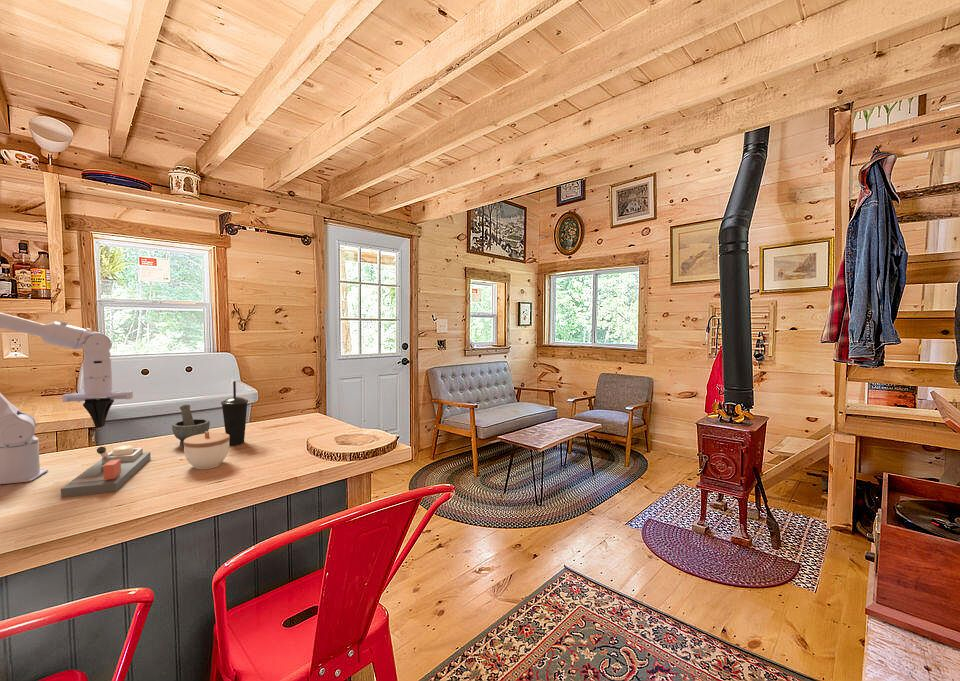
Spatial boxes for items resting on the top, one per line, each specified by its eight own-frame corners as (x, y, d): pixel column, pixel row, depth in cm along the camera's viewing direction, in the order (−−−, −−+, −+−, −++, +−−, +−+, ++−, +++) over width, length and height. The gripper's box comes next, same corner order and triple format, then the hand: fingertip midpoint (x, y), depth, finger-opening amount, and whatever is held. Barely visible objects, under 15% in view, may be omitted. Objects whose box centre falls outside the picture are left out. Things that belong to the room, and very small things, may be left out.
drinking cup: (225, 440, 142) (223, 379, 141) (251, 439, 144) (250, 379, 143) (218, 447, 135) (217, 383, 133) (246, 445, 137) (245, 382, 136)
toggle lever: (102, 462, 109) (93, 450, 108) (105, 460, 111) (97, 447, 110) (110, 459, 110) (101, 446, 109) (113, 457, 111) (104, 444, 111)
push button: (109, 460, 115) (109, 451, 115) (116, 455, 119) (116, 446, 119) (130, 458, 117) (129, 449, 117) (136, 453, 121) (135, 444, 121)
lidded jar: (237, 464, 121) (237, 430, 120) (195, 475, 112) (194, 439, 111) (218, 456, 127) (218, 424, 126) (176, 466, 118) (176, 432, 117)
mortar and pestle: (214, 443, 139) (213, 406, 138) (180, 450, 131) (179, 411, 130) (200, 437, 145) (199, 401, 145) (167, 443, 138) (166, 405, 137)
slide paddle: (103, 479, 102) (103, 465, 102) (110, 473, 106) (110, 460, 106) (114, 478, 103) (113, 464, 103) (121, 472, 107) (120, 459, 106)
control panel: (61, 497, 98) (60, 482, 98) (106, 462, 120) (106, 450, 120) (116, 491, 101) (115, 476, 101) (150, 458, 124) (150, 446, 123)
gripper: (55, 380, 111) (57, 432, 112) (125, 377, 116) (127, 427, 117) (69, 376, 117) (71, 425, 118) (134, 374, 123) (136, 421, 124)
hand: (99, 426), depth 118 cm, fingers closed
